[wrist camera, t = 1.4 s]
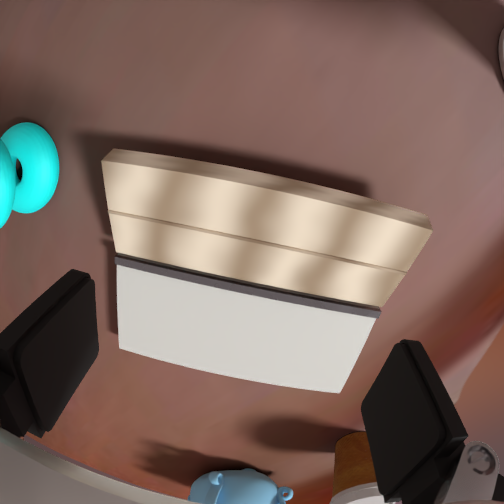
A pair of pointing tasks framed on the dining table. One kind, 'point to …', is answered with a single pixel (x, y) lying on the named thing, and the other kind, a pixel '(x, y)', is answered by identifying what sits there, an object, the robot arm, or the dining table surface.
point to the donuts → (27, 169)
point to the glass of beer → (355, 472)
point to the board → (238, 326)
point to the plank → (260, 226)
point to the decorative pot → (237, 488)
